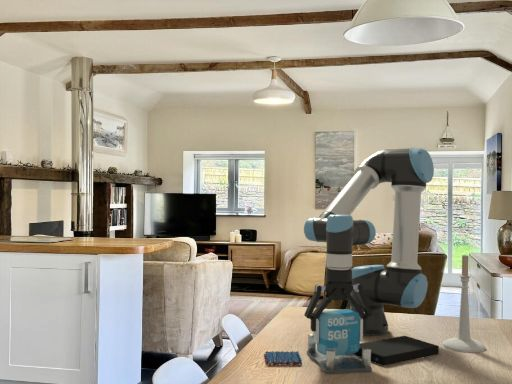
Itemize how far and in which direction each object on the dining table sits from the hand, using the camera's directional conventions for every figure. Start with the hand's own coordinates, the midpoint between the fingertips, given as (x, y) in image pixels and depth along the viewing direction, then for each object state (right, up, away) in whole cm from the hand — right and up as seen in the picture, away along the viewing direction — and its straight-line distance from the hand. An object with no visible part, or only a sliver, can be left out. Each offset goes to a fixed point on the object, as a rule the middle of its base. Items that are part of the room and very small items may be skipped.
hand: (338, 341), depth 167 cm
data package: (0, -3, 0) cm, 3 cm away
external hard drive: (+19, -7, +9) cm, 22 cm away
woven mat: (-16, -7, +1) cm, 17 cm away
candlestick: (+43, -7, +18) cm, 47 cm away
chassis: (0, -6, 0) cm, 6 cm away
